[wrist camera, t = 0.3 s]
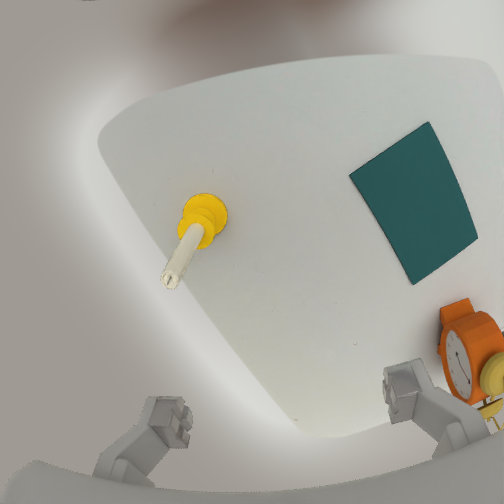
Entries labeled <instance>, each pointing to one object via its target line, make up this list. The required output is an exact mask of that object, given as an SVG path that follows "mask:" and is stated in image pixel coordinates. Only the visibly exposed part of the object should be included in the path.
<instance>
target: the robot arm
mask: <svg viewBox="0 0 504 504" xmlns="http://www.w3.org/2000/svg"><path fill="white" fill-rule="evenodd" d="M383 375H384V378H385V379H384V380H383V386H382V387H383V395H384V399H385V403H387V404H388V405H389V408H388V413H389V416H390V419H391V423H392V424H395V423H399V422H403V421H407V420H410V419H412V421H413V422H415V423H416V424H417V425H418V426H419V427H421V428H422V429H423V430H424V431H425V432H427V433H428V434H429V435H430V436H431V437H433V438H434V439H435V440H436V441H437V442H439V443H438V445H437V447H436V449H435V452H434V453H433V455H432V460H429V461H426V462H423V463H420V464H417V465H413V466H410V467H407V468H403V469H400V470H396V471H393V472H389V473H385V474H381V475H377V476H373V477H368V478H364V479H359V480H354V481H349V482H344V483H338V484H332V485H326V486H319V487H311V488H303V489H294V490H282V491H268V492H241V493H240V492H238V493H237V492H234V493H233V492H231V493H230V492H229V493H228V492H198V491H197V492H196V491H182V490H171V489H163V488H154V487H155V485H154V483H153V482H152V481H151V480H149V479H148V478H147V477H146V476H147V475H148V474H149V473H150V472H151V471H152V470H153V468H154V467H155V466H156V465H157V464H158V462H159V461H160V460H161V459H162V458H163V457H164V455H165V454H166V453H167V452H168V451H169V448H188V444H189V439H190V435H189V433H188V431H189V430H190V429H191V428H192V424H193V416H192V412H191V410H190V409H189V407H187V406H185V405H184V403H185V401H184V399H183V398H182V397H148V398H147V399H146V402H145V405H144V407H143V410H142V413H141V415H140V418H139V421H138V424H137V425H134V426H133V427H132V428H131V429H129V430H128V431H127V432H126V433H125V434H124V435H123V436H121V437H120V438H119V439H118V440H117V441H115V442H114V443H113V444H112V445H111V446H110V447H108V448H107V449H106V450H105V451H104V452H102V453H101V455H100V457H99V459H98V461H97V464H96V467H95V470H94V472H93V475H92V476H90V475H86V474H82V473H78V472H74V471H71V470H67V469H64V468H60V467H57V466H53V465H51V464H48V463H45V462H41V461H37V460H35V461H32V462H30V463H28V464H27V465H26V466H24V467H22V468H21V469H19V470H18V471H16V472H15V473H14V474H13V475H12V476H11V477H10V479H9V480H8V482H7V483H6V485H5V487H4V489H3V491H2V493H1V495H0V504H504V429H502V430H500V431H498V432H496V433H494V434H492V435H491V434H490V432H489V430H488V428H487V426H486V423H485V421H484V419H483V417H482V415H481V412H480V411H479V410H477V409H475V408H473V407H472V406H470V405H468V404H467V403H465V402H463V401H462V400H460V399H458V398H456V397H455V396H453V395H451V394H450V393H448V392H446V391H445V390H443V389H441V388H439V387H434V385H433V383H432V380H431V378H430V376H429V374H428V372H427V370H426V368H425V366H424V363H423V361H422V360H421V359H420V358H419V359H415V360H412V361H408V362H404V363H400V364H397V365H393V366H389V367H385V368H384V372H383Z"/></svg>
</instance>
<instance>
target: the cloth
mask: <svg viewBox="0 0 504 504" xmlns="http://www.w3.org/2000/svg"><path fill="white" fill-rule="evenodd" d="M350 177H351V178H352V180H353V181H354V183H355V185H356V186H357V188H358V189H359V191H360V192H361V194H362V196H363V197H364V199H365V200H366V202H367V204H368V205H369V207H370V209H371V210H372V212H373V214H374V215H375V217H376V219H377V220H378V222H379V224H380V225H381V227H382V229H383V231H384V232H385V234H386V236H387V238H388V239H389V241H390V243H391V245H392V247H393V248H394V250H395V252H396V254H397V256H398V258H399V259H400V261H401V263H402V265H403V267H404V269H405V271H406V273H407V275H408V277H409V279H410V281H411V283H412V284H413V285H414V284H416V283H417V282H419V281H420V280H422V279H423V278H425V277H426V276H428V275H429V274H430V273H432V272H433V271H435V270H436V269H438V268H439V267H440V266H442V265H443V264H445V263H446V262H447V261H449V260H450V259H451V258H453V257H454V256H455V255H457V254H458V253H460V252H461V251H462V250H463V249H465V248H466V247H467V246H469V245H470V244H471V243H473V242H474V241H475V240H476V239H478V236H477V233H476V230H475V227H474V224H473V221H472V218H471V215H470V212H469V210H468V207H467V204H466V201H465V199H464V196H463V194H462V191H461V189H460V186H459V184H458V181H457V179H456V177H455V174H454V172H453V170H452V168H451V165H450V163H449V161H448V159H447V157H446V154H445V152H444V150H443V148H442V146H441V144H440V142H439V140H438V138H437V136H436V134H435V132H434V130H433V128H432V126H431V124H430V123H429V122H426V123H425V124H423V125H422V126H420V127H419V128H418V129H416V130H415V131H413V132H412V133H410V134H409V135H407V136H406V137H404V138H403V139H401V140H400V141H398V142H397V143H395V144H394V145H392V146H391V147H390V148H388V149H387V150H385V151H384V152H382V153H381V154H379V155H378V156H376V157H375V158H373V159H372V160H370V161H369V162H368V163H366V164H365V165H363V166H362V167H360V168H359V169H357V170H356V171H354V172H353V173H352V174H350Z"/></svg>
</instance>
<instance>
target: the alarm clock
mask: <svg viewBox="0 0 504 504" xmlns="http://www.w3.org/2000/svg"><path fill="white" fill-rule="evenodd" d="M440 320H441V323H442V325H443V328H444V329H443V330H442V334H441V342H440V344H438V351H437V353H438V354H439V355H440V356H441V359H442V365H443V370H444V374H445V377H446V381H447V383H448V386H449V388H450V391H451V393H452V394H453V396H455V397H456V398H458V399H460V400H462V401H463V402H465V403H467V404H468V405H470V406H471V405H473V404H475V403H477V402H479V401H481V400H483V403H484V406H482V407H480V408H478V409H477V410H479V411H480V412H481V415H482V417H483V419H484V420H485V419H487V422H489V421H490V418H493V420H494V422H495V424H496V426H497V428H498V430H499V431H500V430H501V429H502V428H503V426H504V423H503V425H502V427H501V429H500V428H499V426H498V424H497V422H496V420H495V418H494V417H491V416H493V415H495V414H497V413H498V412H499V411H500V410H501V408H502V406H503V398H500V399H498V400H495V401H494V398H495V396H497V395H500V394H502V393H503V392H504V338H503V335H502V333H501V330H500V329H499V327H498V325H497V324H496V322H495V321H494V319H493V318H492V317H491V316H489V315H488V314H487V313H485V312H482V311H479V312H476V313H475V311H474V309H473V307H472V305H471V303H470V300H469V298H467V299H464V300H461V301H459V302H456V303H453V304H451V305H448V306H445V307H443V308H440ZM489 396H491V398H490V401H493V402H491V403H488V404H487V403H486V398H487V397H489Z"/></svg>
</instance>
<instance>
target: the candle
mask: <svg viewBox="0 0 504 504" xmlns="http://www.w3.org/2000/svg"><path fill="white" fill-rule="evenodd" d="M226 222H227V210H226V207H225V205H224V204H223V202H222V201H221V200H220V199H219V198H218V197H216V196H214V195H211V194H207V193H205V194H198V195H195V196H193V197H192V198H190V200H189V201H188V202H187V203H186V205H185V207H184V210H183V218H182V220H181V221H180V222H179V225H178V229H177V231H178V236H179V238H180V240H181V241H180V242H179V244H178V246H177V247H176V249H175V251H174V253H173V254H172V256H171V258H170V259H169V261H168V263H167V265H166V267H165V269H164V271H163V273H162V276H161V282H162V284H163V286H164V287H166V288H167V289H175V288H176V287H177V286H178V284H179V282H180V280H181V279H182V277H183V275H184V273H185V271H186V269H187V267H188V265H189V263H190V261H191V259H192V257H193V255H194V253H195V251H196V249H203V248H206V247H207V246H209V245H210V244H211V243H212V241H213V239H214V235H216V234H218V233H220V232H221V231H222V229H223V228H224V226H225V225H226Z"/></svg>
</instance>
